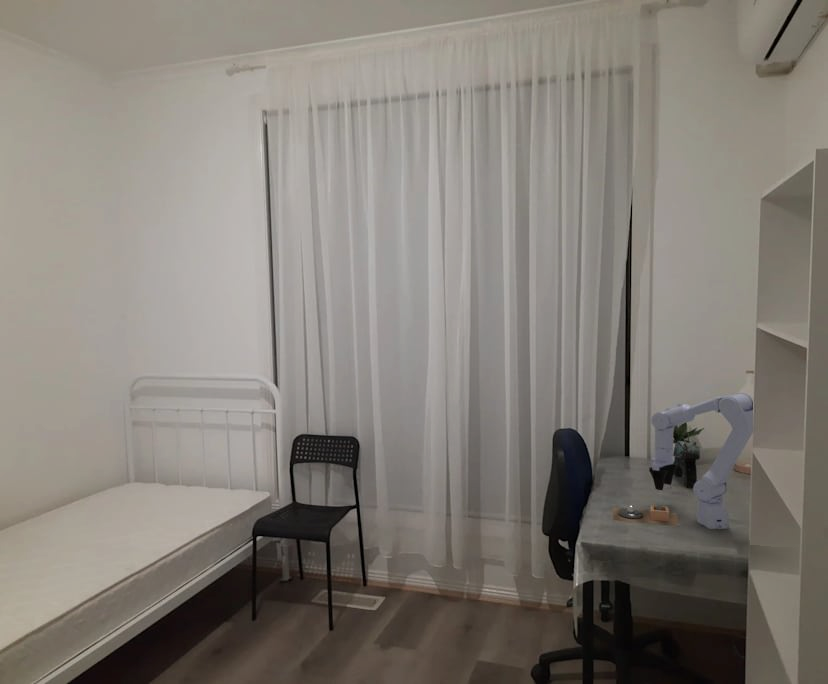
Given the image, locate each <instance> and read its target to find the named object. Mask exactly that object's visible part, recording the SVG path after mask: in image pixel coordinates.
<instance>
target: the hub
mask: <svg viewBox="0 0 828 684" xmlns="http://www.w3.org/2000/svg"><path fill="white" fill-rule="evenodd" d="M639 510H640V509H637V510H635V507H634V506H633V505H628V506H627V508H625V509H621V510H619V515H620V516H621V517H624V518H627V519H640V518H643V512H641V511H639Z"/></svg>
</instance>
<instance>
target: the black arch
mask: <svg viewBox="0 0 828 684" xmlns="http://www.w3.org/2000/svg"><path fill="white" fill-rule="evenodd" d="M685 435H686V436H687V441H686V439H685V437H683V436H681V437H680V438H679V439H678V440H677V441H676V443H675V445H674V447H673V456H675V461H674V463H677V464H678V466H677V468H676V470H675V472H674V475H675V476H676V478H683V486H685V487H686V488H687V489H693V487H694V484H695V483H696V482H697V480H698V476H697V475H698V473H697V471H698V470H697V461H698V460H700V459H701V457H700V455H701V452H700V447H699V445H698V443H697V441H694V440H691V442H690V439H689V438H690V434H689V432H686V433H685ZM682 439H683V440H682ZM674 475H673V476H674ZM675 476H674V477H675ZM682 476H683V477H682Z"/></svg>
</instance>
